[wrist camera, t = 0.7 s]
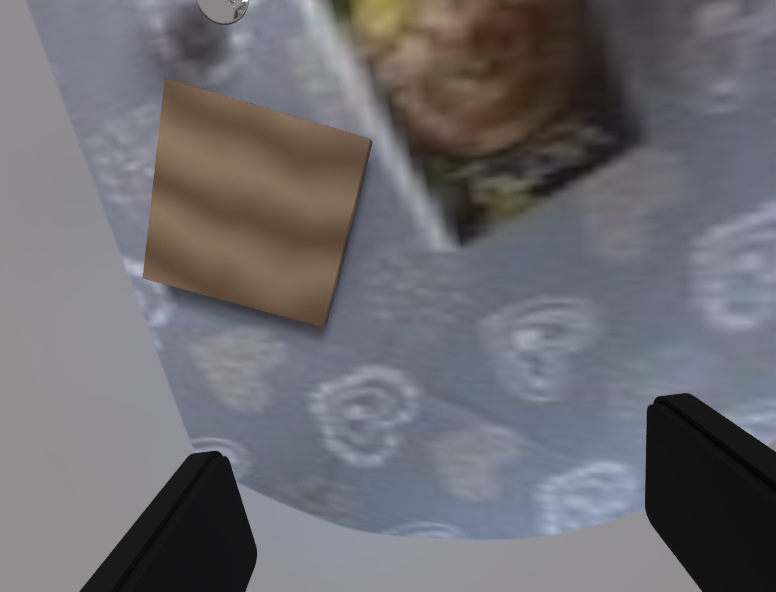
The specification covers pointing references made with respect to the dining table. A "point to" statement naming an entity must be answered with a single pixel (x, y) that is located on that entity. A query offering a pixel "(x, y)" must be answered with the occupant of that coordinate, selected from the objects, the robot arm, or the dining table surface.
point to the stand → (251, 203)
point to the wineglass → (223, 9)
